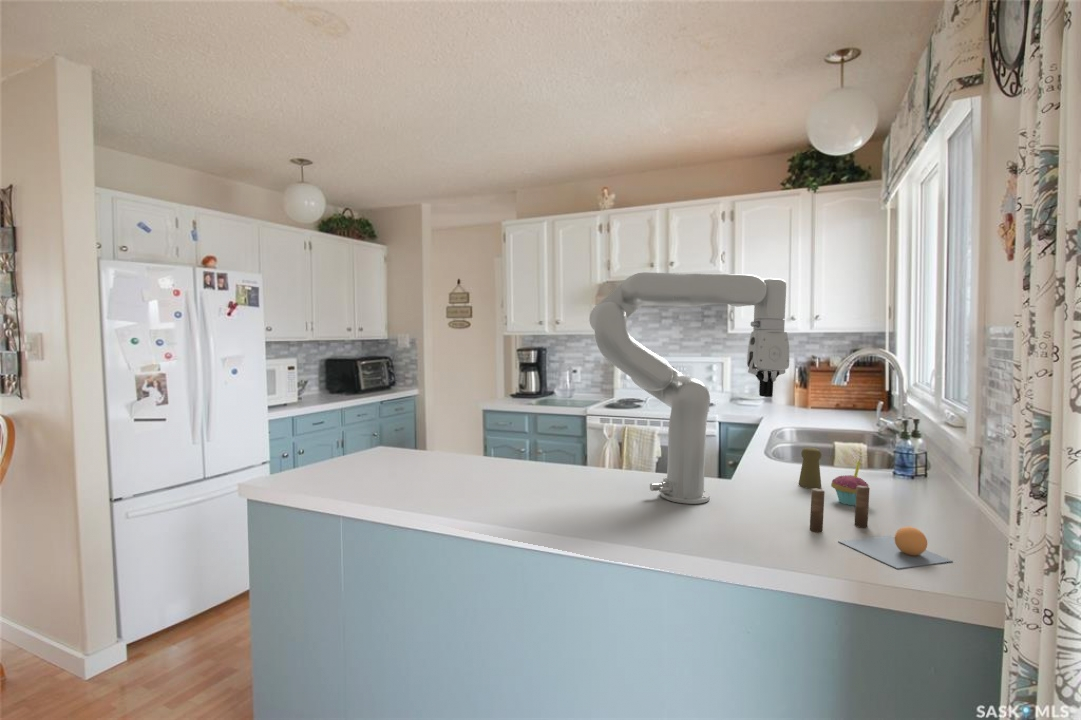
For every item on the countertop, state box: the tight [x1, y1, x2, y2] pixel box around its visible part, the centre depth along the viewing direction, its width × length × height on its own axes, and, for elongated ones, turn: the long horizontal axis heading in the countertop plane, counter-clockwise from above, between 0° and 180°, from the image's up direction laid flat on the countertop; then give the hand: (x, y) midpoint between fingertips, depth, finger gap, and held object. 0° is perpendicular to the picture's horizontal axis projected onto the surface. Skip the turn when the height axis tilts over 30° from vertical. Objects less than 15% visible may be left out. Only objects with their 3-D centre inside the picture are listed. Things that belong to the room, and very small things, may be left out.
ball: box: [894, 526, 928, 556], centre depth 114 cm, size 6×6×6 cm
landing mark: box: [838, 535, 954, 570], centre depth 116 cm, size 14×14×1 cm
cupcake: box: [830, 458, 870, 506], centre depth 148 cm, size 9×8×12 cm
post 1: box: [809, 488, 825, 533], centre depth 127 cm, size 3×3×9 cm
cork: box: [798, 446, 822, 489], centre depth 164 cm, size 6×6×11 cm
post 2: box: [854, 486, 871, 529], centre depth 131 cm, size 3×3×9 cm
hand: (765, 396), depth 150 cm, fingers closed
